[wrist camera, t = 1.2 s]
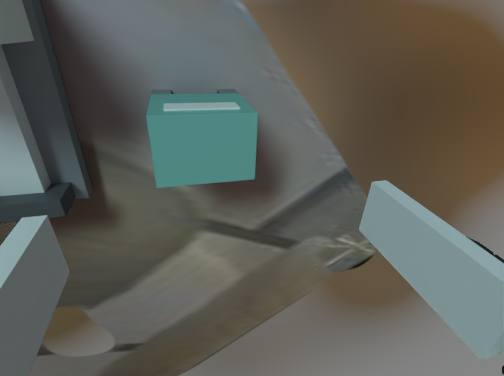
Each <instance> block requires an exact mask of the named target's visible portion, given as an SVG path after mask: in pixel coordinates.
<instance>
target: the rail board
mask: <svg viewBox="0 0 504 376" xmlns="http://www.w3.org/2000/svg"><path fill="white" fill-rule="evenodd" d="M92 190H93V189H92V186H91V182H90V179H89V175H88V171H87V168H86V164H85V161H84V157H83V154H82V150H81V146H80V143H79V139H78V136H77V132H76V129H75V125H74V121H73V118H72V114H71V111H70V107H69V104H68V100H67V97H66V93H65V89H64V86H63V82H62V79H61V75H60V72H59V68H58V64H57V61H56V57H55V54H54V50H53V47H52V43H51V39H50V36H49V32H48V29H47V25H46V22H45V18H44V14H43V11H42V7H41V4H40V0H0V223H5V222H15V221H20V220H21V218H24V217H34V216H44V215H48V218H54V217H63V216H66V214H67V212H68V210H69V209H70V207H71V205H72V203H73V201H74V200H75V199H86V198H89V197H90V195H91V193H92Z"/></svg>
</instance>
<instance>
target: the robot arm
mask: <svg viewBox="0 0 504 376" xmlns="http://www.w3.org/2000/svg"><path fill="white" fill-rule="evenodd" d="M359 230H360V231H361V233H362V234H363V235H364V236H365V237H366V238H367V239H368V240H369V241H370V242H371V243H372V244H373V245H374V246H375V247H376V249H377V250H378V251H379V252H380V253H381V254H382V255H383V256H384V257H385V258H386V259H387V260H388V261H389V262H390V263H391V265H392V266H393V267H394V268H395V269H396V270H397V271H398V272H399V273H400V274H401V275H402V276H403V277H404V278H405V279H406V280H407V282H409V284H410V285H411V286H412V287H413V288H414V289H415V290H416V291H417V292H418V293H419V294H420V295H421V296H422V297H423V299H424V300H425V301H426V302H427V303H428V304H429V305H430V306H431V307H432V308H433V309H434V310H435V311H436V312H437V314H438V315H439V316H440V317H441V318H442V319H443V320H444V321H445V322H446V323H447V324H448V325H449V326H450V327H451V328H452V330H454V332H455V333H456V334H457V335H458V336H459V337H460V338H461V339H462V340H463V341H464V342H465V343H466V344H467V346H468V347H469V348H470V349H471V350H472V351H473V352H474V353H475V354H476V355H477V356H478V357H479V358H480V359H481V360H483V359H487V358H490V357H493V356H496V355H499V354H501V352H502V351H503V350H504V260H503V259H502V258H500V257H499V256H497V255H494V254H493V252H492V251H490V250H489V249H487V248H486V247H485V246H483V245H482V244H480V243H479V242H477V241H474V240H472V239H470V238H468V237H466V236H464V235H463V234H461V233H460V232H458V231H457V230H456V229H454V228H453V227H451V226H450V225H449V224H447V223H446V222H444V221H443V220H442V219H440V218H439V217H437V216H436V215H434V214H433V213H431V212H430V211H429V210H427V209H426V208H424V207H423V206H421V205H420V204H419V203H417V202H416V201H415V200H413V199H412V198H410V197H409V196H408V195H406V194H405V193H403V192H402V191H400V190H399V189H398V188H396V187H395V186H393V185H392V184H390V183H389V182H388V181H377V182H372V184H371V188H370V192H369V195H368V198H367V202H366V206H365V209H364V213H363V216H362V220H361V223H360V227H359ZM69 273H70V271H69V268H68V266H67V263H66V261H65V258H64V256H63V253H62V251H61V248H60V246H59V243H58V241H57V238H56V236H55V233H54V231H53V228H52V226H51V223H50V220H49V218H48V215H44V216H34V217H24V218H21V220H20V221H19V222H18V223H17V225H16V226H15V227H14V229H13V230H12V231H11V233H10V234H9V235H8V237H7V238H6V239H5V240H4V242H3V243H2V244H1V246H0V376H28V375H29V373H30V370H31V368H32V365H33V363H34V360H35V358H36V355H37V353H38V350H39V348H40V345H41V343H42V340H43V338H44V335H45V333H46V330H47V328H48V325H49V323H50V320H51V318H52V316H53V313H54V310H55V308H56V306H57V303H58V301H59V298H60V296H61V293H62V291H63V288H64V286H65V283H66V281H67V278H68V276H69ZM502 373H503V374H504V366H503V367H502Z"/></svg>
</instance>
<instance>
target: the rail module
mask: <svg viewBox="0 0 504 376" xmlns="http://www.w3.org/2000/svg"><path fill="white" fill-rule="evenodd" d="M146 119H147V125H148V132H149V139H150V145H151V152H152V159H153V166H154V172H155V179H156V186H157V188H161V187H173V186H184V185H196V184H207V183H219V182H230V181H241V180H253V179H255V164H256V144H257V125H258V112H257V111H256V110H255V109H254V108H253V107H252V106H251V105H250V104H249V103H248V102H247V101H246V100H245V99H244V98H242V97H241V96H240V95H239V94H238V93H237V92H236V91H235V90H234V89H217V94H171V90H152V93H151V97H150V101H149V105H148V109H147V114H146Z"/></svg>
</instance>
